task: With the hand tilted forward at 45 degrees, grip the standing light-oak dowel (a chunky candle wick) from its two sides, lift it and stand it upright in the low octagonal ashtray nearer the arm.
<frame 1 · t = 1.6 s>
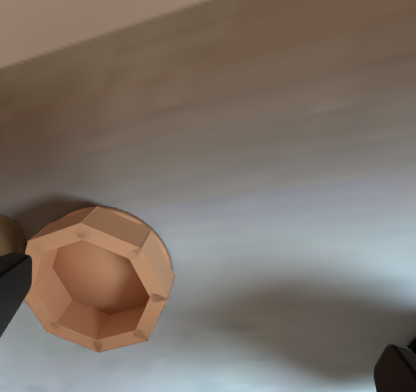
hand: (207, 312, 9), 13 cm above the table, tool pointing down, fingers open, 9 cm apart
octagonal ashtray: (108, 266, 24), on the table
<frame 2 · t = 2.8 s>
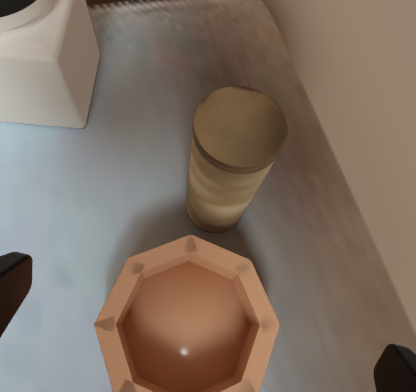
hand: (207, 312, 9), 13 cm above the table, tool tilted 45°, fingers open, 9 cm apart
oak dowel: (214, 204, 24), on the table
medicine bottle: (47, 88, 26), on the table
octagonal ashtray: (187, 325, 21), on the table
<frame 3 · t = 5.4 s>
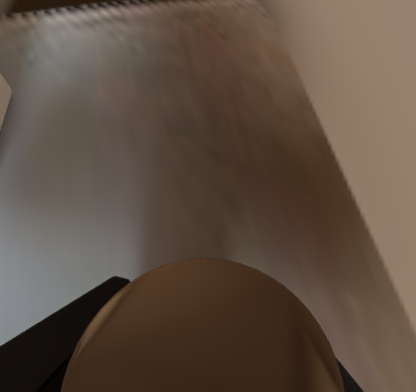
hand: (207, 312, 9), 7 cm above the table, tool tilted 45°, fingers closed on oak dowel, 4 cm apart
oak dowel: (184, 355, 14), on the table, touching gripper
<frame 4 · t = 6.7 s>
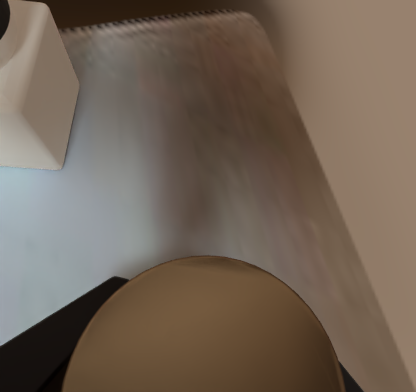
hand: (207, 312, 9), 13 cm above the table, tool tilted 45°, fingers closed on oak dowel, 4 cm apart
oak dowel: (184, 354, 14), point 6 cm above the table, touching gripper
medicine bottle: (21, 123, 24), on the table
when the fingers open (8 cm above the table, at t = 8.2 s): oak dowel drops 1 cm, resting on octagonal ashtray.
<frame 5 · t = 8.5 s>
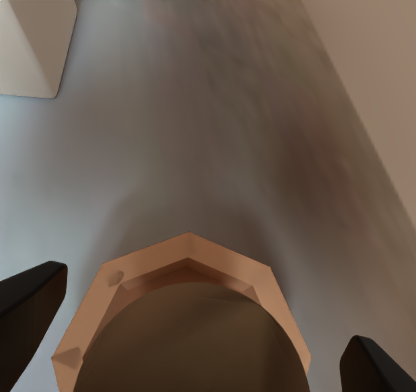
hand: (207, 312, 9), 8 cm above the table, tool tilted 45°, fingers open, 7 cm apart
oak dowel: (184, 354, 15), point 1 cm above the table, touching octagonal ashtray
medicine bottle: (10, 50, 21), on the table
octagonal ashtray: (183, 352, 16), on the table
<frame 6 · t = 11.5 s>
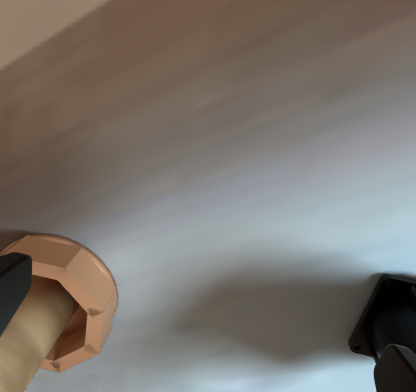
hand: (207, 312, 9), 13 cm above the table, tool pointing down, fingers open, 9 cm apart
oak dowel: (53, 294, 25), point 1 cm above the table, touching octagonal ashtray
octagonal ashtray: (56, 289, 25), on the table
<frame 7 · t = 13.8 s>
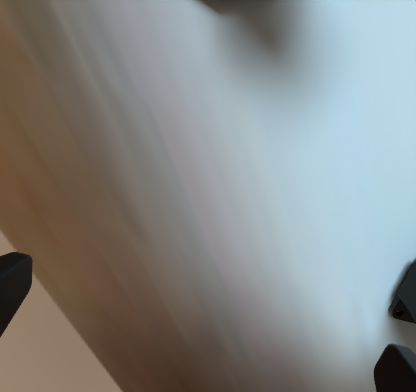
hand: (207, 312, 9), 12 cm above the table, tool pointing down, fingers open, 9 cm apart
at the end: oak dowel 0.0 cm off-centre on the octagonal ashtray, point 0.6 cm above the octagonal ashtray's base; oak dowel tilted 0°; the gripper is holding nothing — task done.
